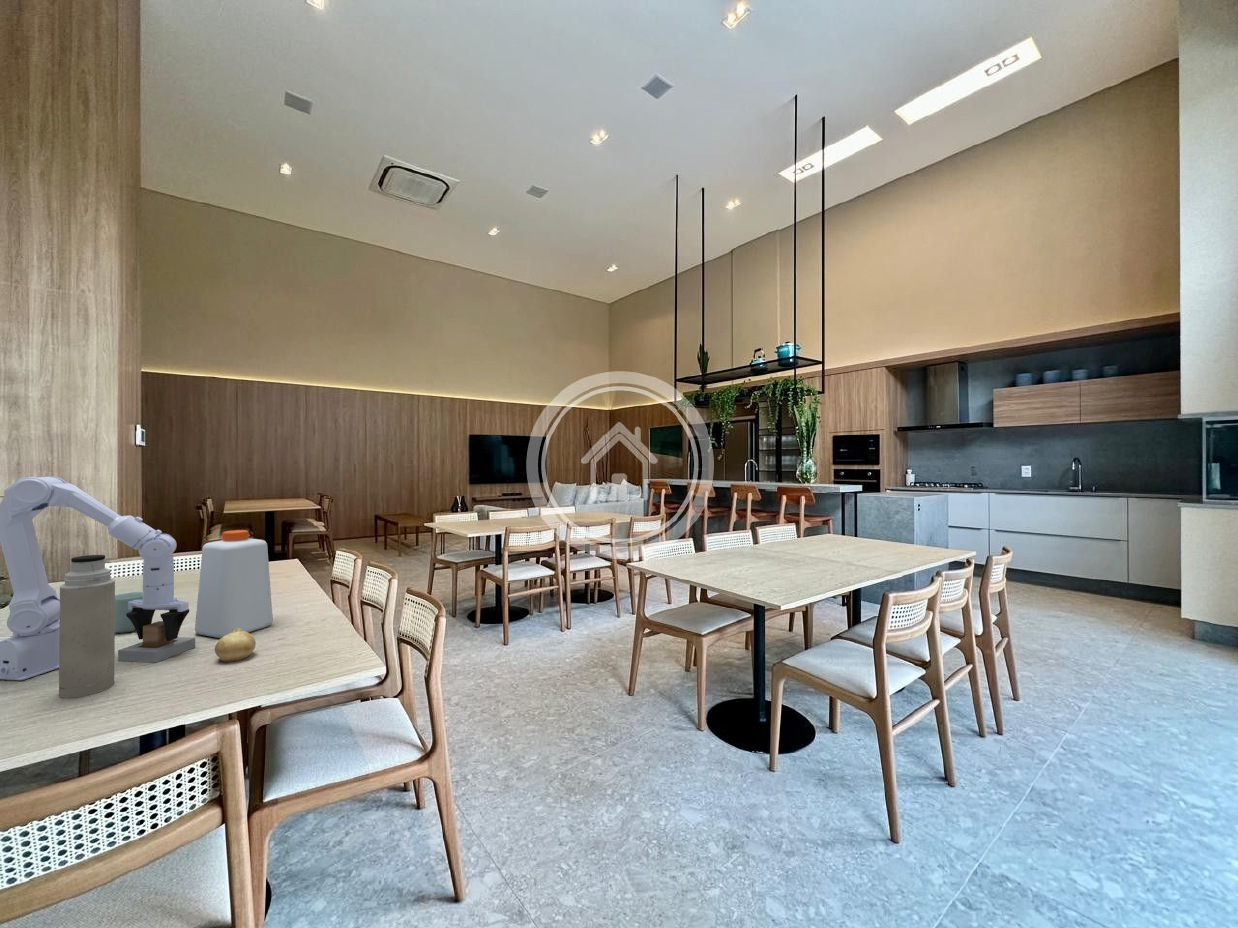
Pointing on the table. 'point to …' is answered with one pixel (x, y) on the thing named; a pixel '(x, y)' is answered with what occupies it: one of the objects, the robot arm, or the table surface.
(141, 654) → the grey flat square frame
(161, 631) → the wooden rectangular block
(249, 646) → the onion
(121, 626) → the cup
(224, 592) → the plastic bottle
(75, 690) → the thermos bottle
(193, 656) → the table surface
